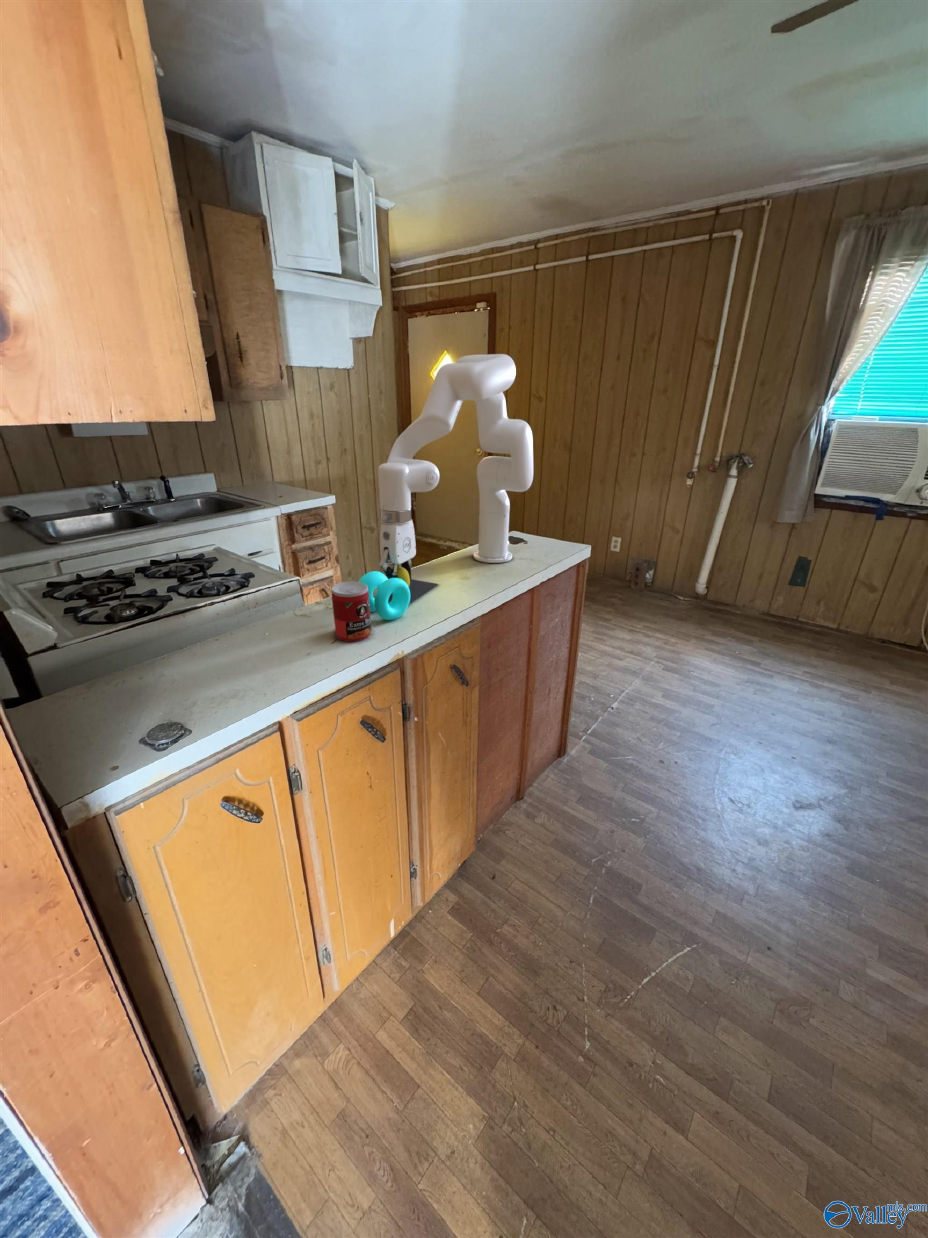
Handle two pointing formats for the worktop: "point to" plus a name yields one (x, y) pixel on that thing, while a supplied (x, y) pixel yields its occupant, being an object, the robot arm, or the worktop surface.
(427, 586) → the mat
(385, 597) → the donuts
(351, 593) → the canned food
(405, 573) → the lemon
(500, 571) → the worktop surface
